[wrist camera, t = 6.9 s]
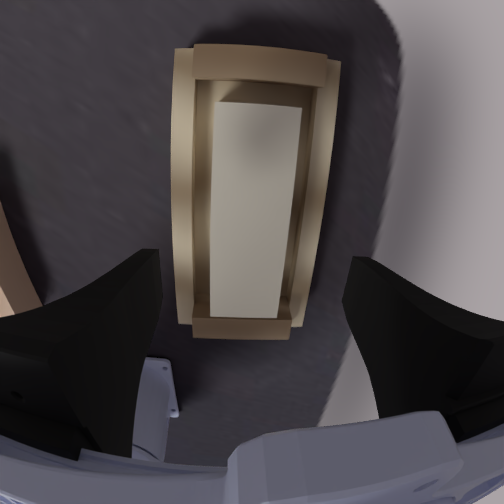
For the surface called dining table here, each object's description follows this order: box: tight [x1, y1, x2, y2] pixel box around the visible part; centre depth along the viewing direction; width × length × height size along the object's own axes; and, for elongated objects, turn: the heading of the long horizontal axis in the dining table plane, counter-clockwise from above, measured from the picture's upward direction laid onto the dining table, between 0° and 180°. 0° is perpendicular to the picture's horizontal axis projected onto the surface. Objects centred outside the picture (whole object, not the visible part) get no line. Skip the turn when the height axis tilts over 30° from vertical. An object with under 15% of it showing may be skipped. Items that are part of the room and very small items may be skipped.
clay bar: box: [210, 101, 302, 318], centre depth 18 cm, size 12×4×4 cm, turn 176°
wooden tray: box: [171, 44, 341, 340], centre depth 19 cm, size 18×9×4 cm, turn 176°
